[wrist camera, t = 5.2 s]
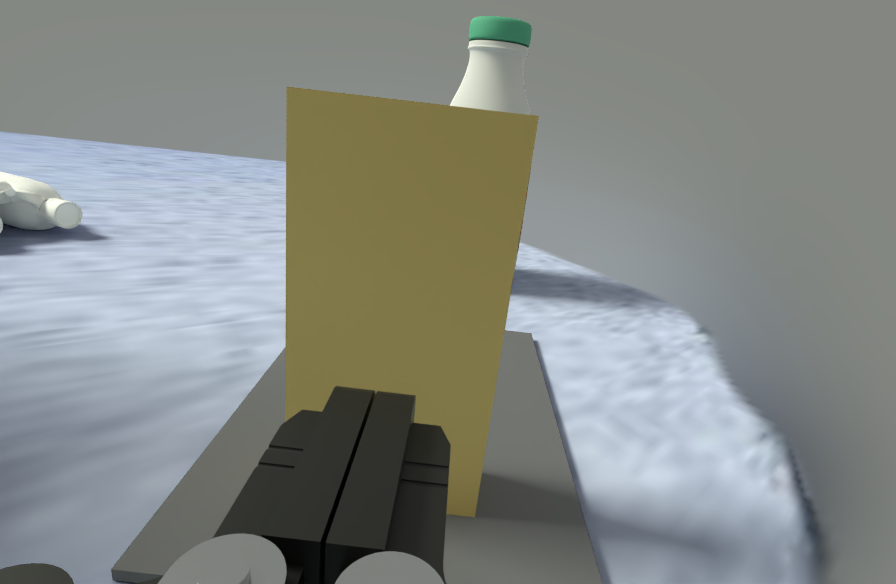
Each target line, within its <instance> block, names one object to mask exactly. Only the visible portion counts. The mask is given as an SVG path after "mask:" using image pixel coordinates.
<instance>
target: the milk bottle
mask: <svg viewBox="0 0 896 584" xmlns="http://www.w3.org/2000/svg"><path fill="white" fill-rule="evenodd" d="M531 30H532V29H531V25H530V24H528V23H526V22H524V21H521V20H517V19H513V18H507V17H496V16H481V17H476V18H474V19H472V21H471V24H470V31H469V41H470V42H469V47H468V50H469V51H470V60H469V64H468V67H467V70H466V73H465V76H464V78H463V81H462V83H461V85H460V87H459V89H458V91H457V93H456V95H455V97H454V98H453V100H452V102H451V104H450V106H457V107H466V108H475V109H483V110H492V111H500V112H509V113H518V114H526V115H531V112H530V109H529V105H528V101H527V97H526V92H525V85H524V76H523V63H524V59H525V57H527V56H528V47H529V44H530V39H531ZM530 169H531V168H530ZM529 177H530V175H529ZM528 184H529V181H528ZM527 190H528V187H527ZM526 197H527V193H526ZM525 204H526V200H525ZM524 210H525V206H524ZM523 216H524V212H523ZM522 223H523V218H522ZM521 229H522V225H521ZM520 235H521V231H520ZM519 242H520V237H519ZM518 248H519V244H518ZM517 254H518V250H517ZM516 260H517V256H516ZM515 266H516V262H515ZM514 271H515V269H514ZM513 276H514V275H513Z"/></svg>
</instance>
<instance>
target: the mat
mask: <svg viewBox="0 0 896 584" xmlns="http://www.w3.org/2000/svg"><path fill="white" fill-rule="evenodd" d="M285 402H286V347H285V348H284V350H283V351H282V352H281V354H280V355H279V356H278V357H277V359H276V360H275V361H274V362H273V364H272V365H271V366H270V368H269V369H268V370H267V371H266V373H265V374H264V375H263V377H262V378H261V379H260V380H259V382H258V383H257V384H256V385H255V387H254V388H253V389H252V391H251V392H250V393H249V394H248V396H247V397H246V398H245V399H244V401H243V402H242V403H241V405H240V406H239V407H238V408H237V410H236V411H235V412H234V413H233V415H232V416H231V417H230V419H229V420H228V421H227V422H226V424H225V425H224V426H223V428H222V429H221V430H220V431H219V433H218V434H217V435H216V436H215V438H214V439H213V440H212V442H211V443H210V444H209V445H208V447H207V448H206V449H205V450H204V452H203V453H202V454H201V456H200V457H199V458H198V459H197V461H196V462H195V463H194V465H193V466H192V467H191V468H190V470H189V471H188V472H187V473H186V475H185V476H184V477H183V479H182V480H181V481H180V482H179V484H178V485H177V486H176V487H175V489H174V490H173V491H172V493H171V494H170V495H169V496H168V498H167V499H166V500H165V502H164V503H163V504H162V505H161V507H160V508H159V509H158V510H157V512H156V513H155V514H154V516H153V517H152V518H151V519H150V521H149V522H148V523H147V524H146V526H145V527H144V528H143V530H142V531H141V532H140V533H139V535H138V536H137V537H136V539H135V540H134V541H133V542H132V544H131V545H130V546H129V547H128V549H127V550H126V551H125V553H124V554H123V555H122V556H121V558H120V559H119V560H118V561H117V563H116V564H115V565H114V567H113V568H112V569H111V570H112V577H113V580H116V581H124V582H133V583H140V582H145V581H148V580H151V579H155V578H158V577H160V576H163V575H165V573H166V572H167V571H168V569H169V568H170V567H171V566H172V565H173V564H174V562H175V561H176V560H178V559H179V558H180V557H181V556H182V555H183V554H184V553H186V552H187V551H189V550H190V549H192V548H193V547H195V546H197V545H199V544H201V543H202V542H205V541H207V540H210V539H212V538H213V536H214V535H215V533H216V531H217V530H218V528H219V527H220V525H221V523H222V522H223V520H224V518H225V517H226V515H227V513H228V512H229V510H230V508H231V507H232V505H233V503H234V502H235V500H236V498H237V497H238V495H239V493H240V492H241V490H242V488H243V487H244V485H245V484H246V482H247V480H248V479H249V477H250V475H251V474H252V472H253V470H254V469H255V467H256V466H257V467H258V463H259V460H260V459H261V457H262V455H263V454H264V452H265V450H266V449H268V448H269V444H270V442H271V441H272V439H273V437H274V436H275V434H276V432H277V431H278V429H279V427H280V426H281V425H282V424H283V423H284V422H285ZM443 572H444V577H445V581H446V584H603V583H602V580H601V576H600V573H599V569H598V566H597V562H596V559H595V555H594V552H593V548H592V545H591V541H590V538H589V534H588V531H587V527H586V524H585V520H584V517H583V513H582V510H581V506H580V503H579V499H578V496H577V492H576V489H575V485H574V482H573V478H572V475H571V471H570V468H569V464H568V461H567V457H566V454H565V450H564V447H563V443H562V440H561V436H560V433H559V429H558V426H557V422H556V419H555V415H554V412H553V408H552V404H551V401H550V397H549V394H548V390H547V387H546V383H545V380H544V376H543V373H542V369H541V366H540V362H539V359H538V355H537V352H536V348H535V345H534V341H533V338H532V334H531V333H523V332H514V331H506V330H505V331H504V338H503V344H502V350H501V356H500V363H499V369H498V375H497V381H496V388H495V394H494V400H493V407H492V413H491V419H490V425H489V432H488V438H487V444H486V450H485V457H484V463H483V469H482V475H481V482H480V488H479V494H478V501H477V507H476V513H475V517H467V516H458V515H450V514H446V527H445V543H444V558H443Z"/></svg>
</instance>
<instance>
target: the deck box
mask: <svg viewBox="0 0 896 584" xmlns="http://www.w3.org/2000/svg"><path fill="white" fill-rule="evenodd" d="M538 118H539V116H535V115H526V114H518V113H509V112H500V111H492V110H483V109H475V108H466V107H457V106H449V105H440V104H431V103H423V102H414V101H406V100H397V99H388V98H379V97H370V96H363V95H354V94H345V93H337V92H327V91H319V90H310V89H302V88H294V87H287V135H286V136H287V138H286V141H287V142H286V143H287V145H286V146H287V147H286V148H287V149H286V402H285V422H286V421H287V420H288V419H290V418H291V417H293V416H294V415H295V414H297V413H298V412H300V411H301V410H311V411H319V412H322V411H323V409H324V407H325V405H326V403H327V401H328V399H329V397H330V395H331V393H332V391H333V389H334V387H335V386H341V387H350V388H359V389H367V390H375V393H377V391H383V392H392V393H400V394H409V395H416V404H415V415H414V423H420V424H429V425H437V426H441V428H442V430H443V431H444V433H445V435H446V437H447V439H448V441H449V443H450V444H451V450H450V465H449V481H448V496H447V512H446V514H450V515H458V516H467V517H475V513H476V507H477V501H478V494H479V488H480V482H481V475H482V469H483V463H484V457H485V450H486V444H487V438H488V432H489V425H490V419H491V413H492V407H493V400H494V394H495V388H496V381H497V375H498V369H499V363H500V356H501V350H502V344H503V338H504V331H505V325H506V319H507V312H508V306H509V300H510V294H511V287H512V281H513V275H514V269H515V262H516V256H517V250H518V244H519V237H520V231H521V225H522V218H523V212H524V206H525V200H526V193H527V187H528V181H529V175H530V168H531V162H532V156H533V150H534V143H535V137H536V131H537V124H538Z"/></svg>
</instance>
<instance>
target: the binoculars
mask: <svg viewBox="0 0 896 584" xmlns="http://www.w3.org/2000/svg"><path fill="white" fill-rule="evenodd" d="M82 217H83V213H82V210H81V208H80V207H79V206H78V205H77V204H76V203H73V202H70V201H66V200H63V198H62V197H61V195H60V194H59V193H58V192H57V191H56V190H54V189H53V188H52V187H50V186H49V185H47V184H45V183H42V182H38V181H35V180H33V179H29V178H25V177H20V176H16V175H12V174H8V173H4V172H0V233H1V231H2V229H3V223H4V224H7V225H11V226H14V227H17V228H21V229H26V230H46V229H51V228H53V227H55V226H58V227H62V228H66V229H71V228H74V227H76V226H78V225H79V224H80V222H81V221H82Z"/></svg>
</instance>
